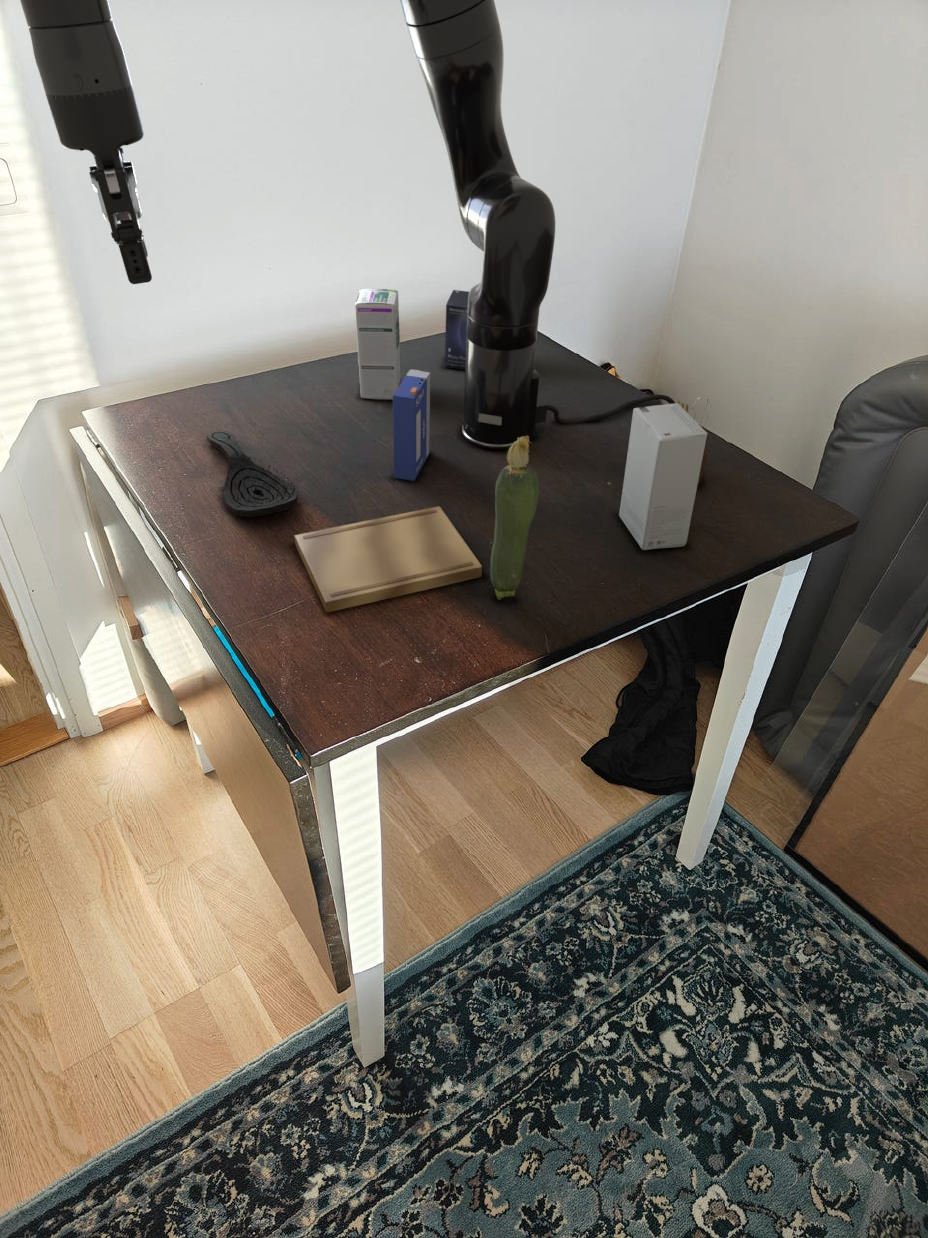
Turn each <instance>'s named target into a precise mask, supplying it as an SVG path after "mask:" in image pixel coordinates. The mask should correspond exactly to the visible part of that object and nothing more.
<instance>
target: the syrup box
mask: <svg viewBox="0 0 928 1238" xmlns="http://www.w3.org/2000/svg"><path fill="white" fill-rule="evenodd" d="M399 305H400V304H399V292H398V290H396V289H388V288H360V289H359V291H358V295H357V297H356V299H355V303H354V311H355V329H356V345H357V347H356V348H357V361H358V375H359V378H358V379H359V392H360V398H361V399H370V400H393V394H394V393H395V391H396V390H397V389H398V387H399V386H400V384H401V383H402V370H401V368H402V365H401V338H400V337H401V335H400V334H401V333H400V331H401V330H400V308H399V307H400V306H399Z"/></svg>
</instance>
